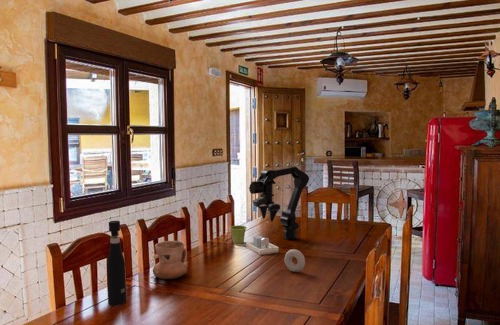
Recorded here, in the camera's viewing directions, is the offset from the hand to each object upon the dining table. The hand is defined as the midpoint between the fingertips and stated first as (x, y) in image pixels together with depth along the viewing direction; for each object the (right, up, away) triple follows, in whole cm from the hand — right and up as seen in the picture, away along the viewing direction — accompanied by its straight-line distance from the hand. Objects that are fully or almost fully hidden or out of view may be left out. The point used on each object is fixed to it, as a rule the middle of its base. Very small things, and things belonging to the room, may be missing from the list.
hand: (267, 220), depth 226 cm
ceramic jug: (-44, -18, -49) cm, 69 cm away
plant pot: (-16, -13, +3) cm, 21 cm away
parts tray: (-4, -14, -12) cm, 19 cm away
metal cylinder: (-2, -13, -15) cm, 20 cm away
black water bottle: (-59, -20, -76) cm, 98 cm away
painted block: (-5, -13, -9) cm, 16 cm away
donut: (+10, -16, -46) cm, 50 cm away
